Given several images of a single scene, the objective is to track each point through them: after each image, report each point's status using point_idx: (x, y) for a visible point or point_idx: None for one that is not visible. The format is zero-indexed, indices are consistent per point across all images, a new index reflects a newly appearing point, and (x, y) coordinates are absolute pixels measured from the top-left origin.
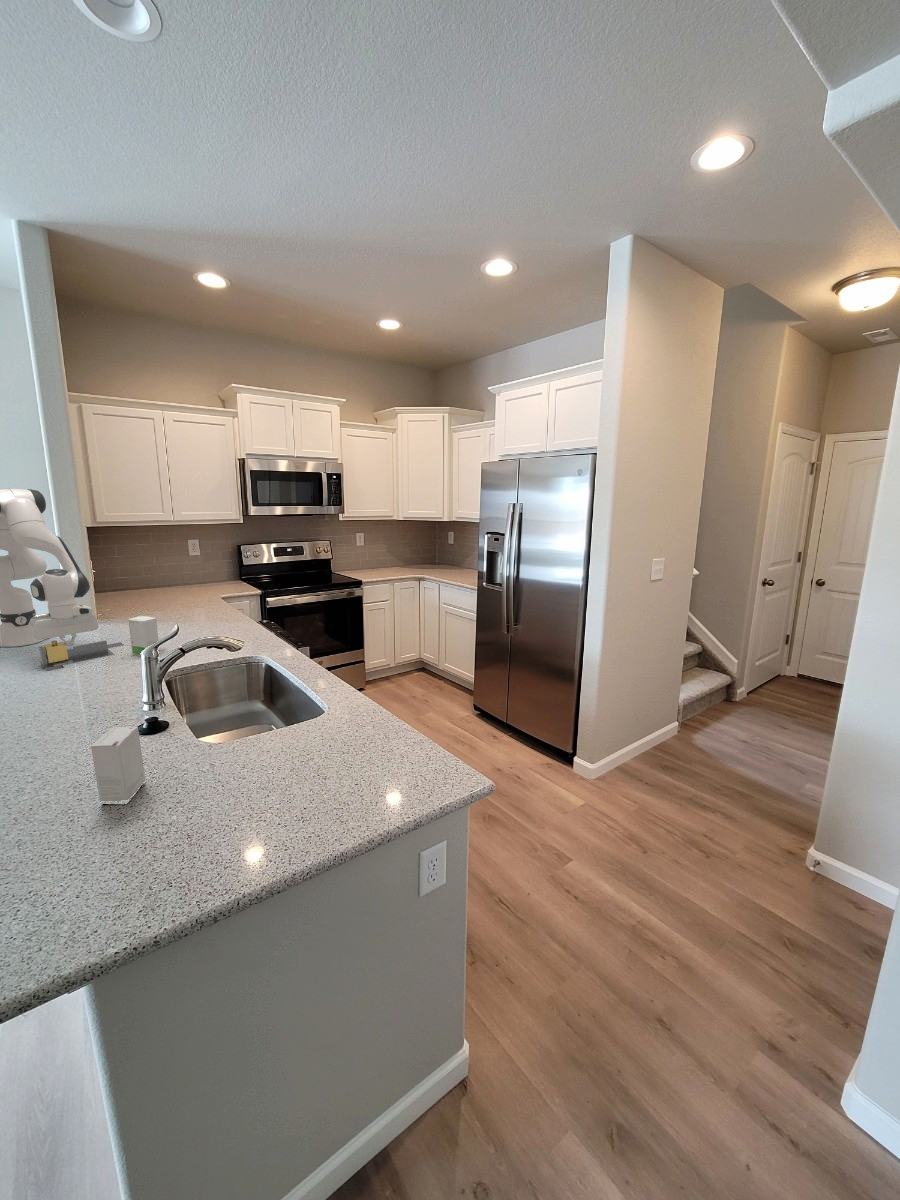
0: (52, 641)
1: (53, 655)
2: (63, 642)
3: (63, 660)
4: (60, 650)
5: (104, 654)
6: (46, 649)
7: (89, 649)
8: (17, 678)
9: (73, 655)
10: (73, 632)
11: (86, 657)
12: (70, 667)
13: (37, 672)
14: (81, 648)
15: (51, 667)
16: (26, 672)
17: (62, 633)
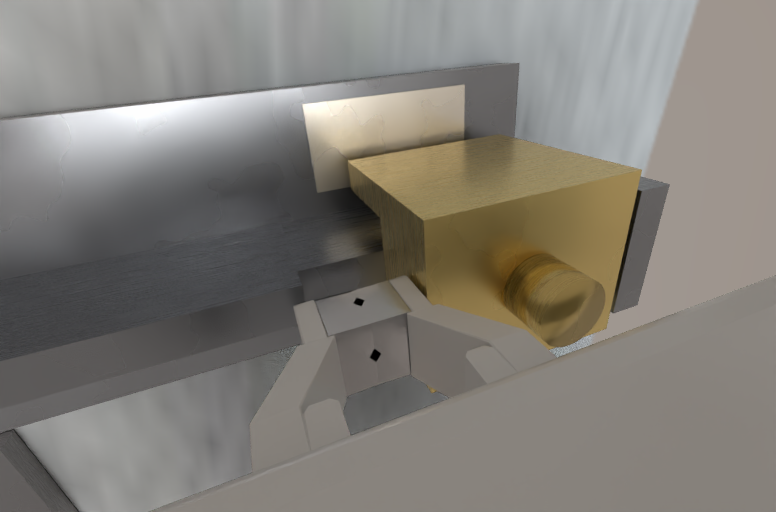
0: (586, 322)
1: (501, 156)
2: None
3: None
4: (458, 178)
5: None
6: (622, 165)
7: (110, 293)
8: (662, 6)
9: (300, 235)
10: (323, 479)
11: (170, 204)
12: (326, 21)
13: (548, 75)
14: (206, 289)
15: (478, 67)
16: (587, 136)
17: (595, 394)
